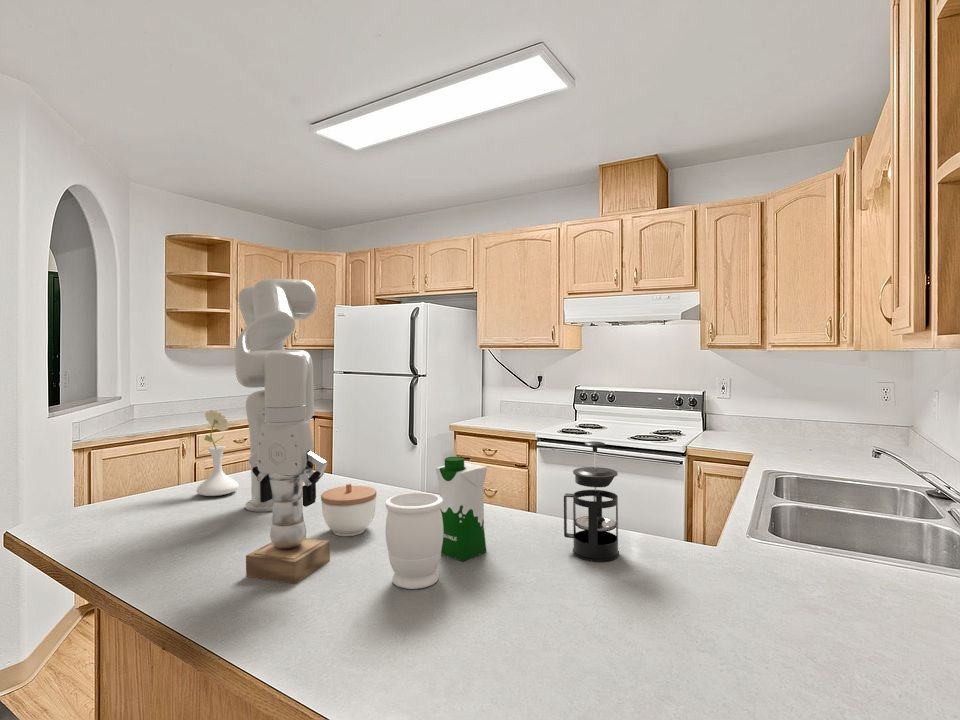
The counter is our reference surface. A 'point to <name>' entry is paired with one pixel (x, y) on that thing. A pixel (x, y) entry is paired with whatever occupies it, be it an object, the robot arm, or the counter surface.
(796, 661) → the counter surface
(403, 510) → the jar
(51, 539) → the counter surface
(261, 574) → the base slab
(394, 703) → the counter surface
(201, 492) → the flower in vase
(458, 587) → the counter surface
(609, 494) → the french press
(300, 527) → the plastic bottle
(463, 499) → the milk carton
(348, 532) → the lidded bowl
